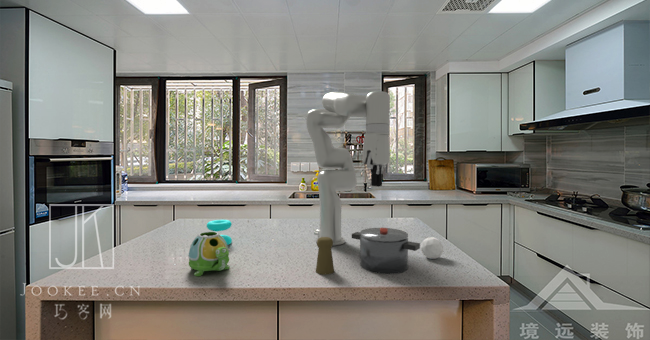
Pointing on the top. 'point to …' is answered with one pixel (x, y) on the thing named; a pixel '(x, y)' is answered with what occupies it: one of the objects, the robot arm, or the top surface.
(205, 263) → the turtle holder
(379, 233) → the lid
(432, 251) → the geometric ball
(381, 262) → the pot
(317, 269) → the cork
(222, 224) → the turquoise spool shape
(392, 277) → the top surface
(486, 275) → the top surface
